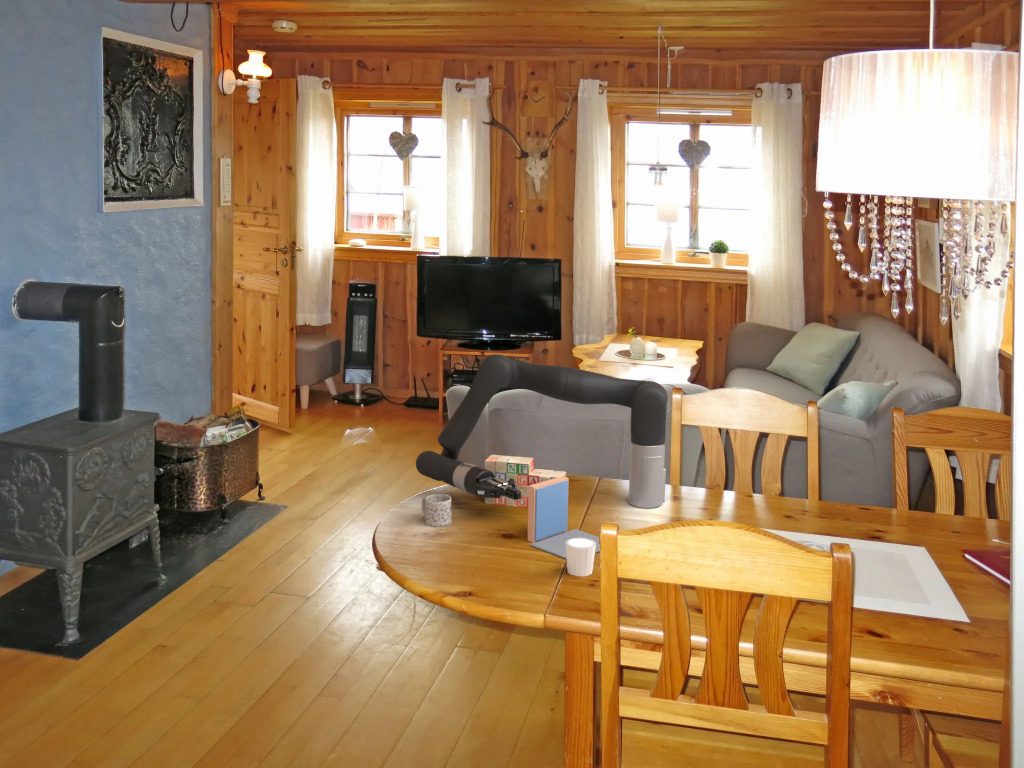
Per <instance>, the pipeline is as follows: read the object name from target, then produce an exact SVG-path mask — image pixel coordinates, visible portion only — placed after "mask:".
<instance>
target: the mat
mask: <svg viewBox="0 0 1024 768" xmlns="http://www.w3.org/2000/svg"><path fill="white" fill-rule="evenodd" d="M572 538H587V539H591V540H593V541H595V542H596V548H595V553H596V554H598V553H597V552H598V551H599V553H601V552H600V544H599V536H596V535H595V534H591V533H588V532H586V531H583V530H580V529H577V528H575V529H572V530H569V531H568V530H567V532H564V533H561V534H558V535H555V536H552V537H549V538H546V539H543V540H540V541H537V542H535V543H530V547H533V548H535V549H538V550H540V551H543V552H546V553H548V554H551V555H554V556H557V557H558V558H562V559H564V560H566V561H567V556H566V541H567V540H569V539H572Z"/></svg>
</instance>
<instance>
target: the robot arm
mask: <svg viewBox="0 0 1024 768" xmlns="http://www.w3.org/2000/svg"><path fill="white" fill-rule="evenodd" d="M501 388H508V389H509V388H510V389H518V390H519V389H520V390H527V391H530V392H535V393H537V394H540V395H543V396H545V397H549V398H552V399H555V400H560V401H564V402H568V403H573V404H581V405H617V406H623V407H627V408H630V450H629V451H630V452H629V455H630V456H629V458H630V459H629V477H628V480H629V481H628V482H629V483H628V500H627V501H628V504H630V505H632V506H634V507H636V508H643V509H644V508H645V509H653V508H660V507H661V506H662V505H663V503H665V500H666V499H665V498H666V496H665V495H666V478H667V476H666V475H667V469H666V467H665V459H666V458H665V457H666V456H665V455H666V437H667V436H666V435H667V434H666V433H667V431H666V430H667V429H666V428H667V427H666V424H667V409H668V407H667V405H668V393H667V390H666V389H665V387H664V386H662V385H661V384H660V383H658V382H656V381H652V380H640V379H627V378H620V377H614V376H611V375H607V374H604V373H600V372H599V373H598V372H594V371H590V370H589V371H588V370H586V369H581V368H577V367H576V368H575V367H570V366H561V365H550V364H549V365H548V364H535V363H532V362H530V363H529V362H527V361H522V360H518V359H515V358H513V357H510V356H507V355H504V354H490V355H488V356H486V357H485V358H484V359H483V360H482V361H481V362H480V365H479V367H478V370H477V371H476V374H475V376H474V379H473V380H472V383H471V384H470V387H469V389H468V390H467V393H466V394H465V396H464V397H463V399H462V401H460V403H459V405H458V406H457V408H456V409H455V411H454V413H453V414H452V415H451V417H450V419H449V420H448V421H447V423H446V425H445V426H444V427H443V429H442V430H441V432H440V433H439V435H438V437H437V442H438V444H439V445H440V446H441V447H442V451H441V453H437V452H435V451H433V450H425V451H422V452H421V453H420V454H418V456H417V457H416V460H415V468H416V470H417V472H418V473H419V474H420V475H422V476H424V477H427V478H429V479H432V480H435V481H438V482H443V483H445V484H447V485H449V486H451V487H454V488H457V489H459V490H460V491H462V492H465V493H467V494H469V495H470V494H471V495H473V496H476V497H477V498H485V497H487V498H500V496H501V497H504V498H505V497H509V498H511V499H514V500H518V499H521V491H520V490H517V489H515V482H514V479H513V478H510V479H509V480H508V481H503V479H500V478H497V477H495V476H494V474H493V472H492V471H490V470H488V469H485V467H482V466H478V465H475V464H473V463H467V462H464V461H461V460H458V457H459V455H460V452H461V450H462V447H463V446H464V444H466V442H467V440H468V439H469V437H470V435H471V434H472V433H473V431H474V429H475V427H476V425H477V423H478V421H479V420H480V417H481V415H482V413H483V411H484V410H485V408H486V406H487V405H488V404H489V403H490V401H491V399H493V397H494V396H495V395H496V393H498V391H500V389H501Z"/></svg>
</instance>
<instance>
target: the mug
mask: <svg viewBox="0 0 1024 768" xmlns="http://www.w3.org/2000/svg"><path fill="white" fill-rule="evenodd" d="M421 511H422V513H423V514H424V516H425V517H424V521H425V522H424V523H425V525H426V526H428V527H431V528H444V527H448V526H450V525H451V524H452V497H451V496H450V495H449V494H444V493H433V494H429V495H427V496H426V495H425V496H423V497H422V498H421Z"/></svg>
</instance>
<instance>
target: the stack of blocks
mask: <svg viewBox="0 0 1024 768" xmlns="http://www.w3.org/2000/svg"><path fill="white" fill-rule="evenodd" d="M484 468H485V469H488V470H490V471H492V472H493V474H494V476H495V477H497V478H500V479H503V481H508V480H509V479H510V478H513V479H514V482H515V489H517V490H520V491H521V499H518V500H514V499H511V498H509V497H505V498H504V497H501V496H500V498H487V497H484V503H485V504H490V505H491V504H492V505H500V506H509V507H519V508H520V507H521V508H528V487H529V486H530V485H533V484H537V483H540V482H544V481H547V480H551V479H554V478H558V477H562V476H564V477H567V471H564V470H561V471H560V470H553V469H544V468H543V469H540V468H535V457H527V456H526V457H524V456H511V455H501V454H500V455H498V454H491V455H490V456H488V457H487V458H486V459H485V460H484Z"/></svg>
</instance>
